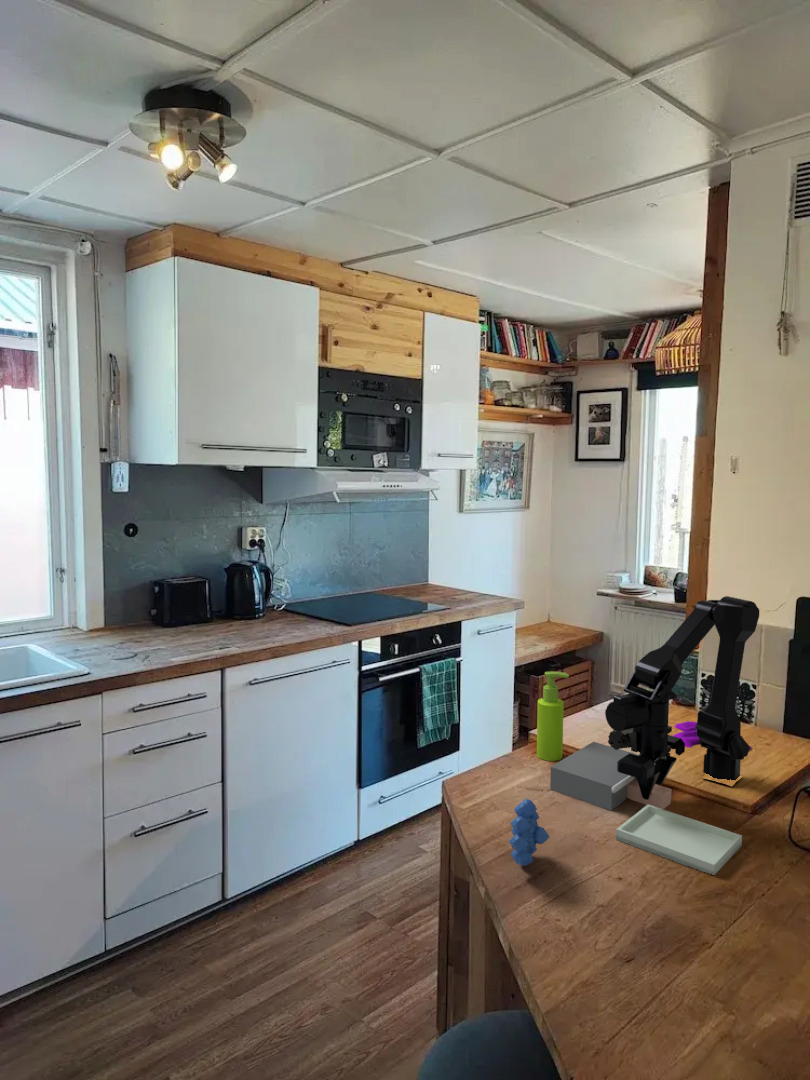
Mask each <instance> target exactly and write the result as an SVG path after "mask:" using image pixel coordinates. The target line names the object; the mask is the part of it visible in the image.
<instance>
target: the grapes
mask: <svg viewBox="0 0 810 1080" xmlns="http://www.w3.org/2000/svg"><path fill="white" fill-rule="evenodd" d="M537 810H538V808H537V806H536V805H535V803H534V801H532V800H531V799H529V798H525V799H523V800H522V801H521V802H520V803H519V804H518V805H516V806H515V808H514V809H513V811H514V812H515V814H516V817H514V819H513V820H512V821H510V825H511V827H512V828H511V830H510V831H511V833H512V835H513V836H512V837H511V838H510V839H509V840H508V842H509V844H510V846H511V847H512V848H513V850H512V851H511V853H510V856H511V857H512V859H513V860H514V862H515V863H516V864H518V865H520V866H522V865H525V866H524V867H526V865H527V866H528V865H530V863H532V862H533V861H534V857H533V854H535V853H536V852H537V850H538V848H537V846H536V845H537V844H538V845H542V844H545V842H547V841H548V839H550V835H549V834H548V832H547V830H546V829H545V828H544V827H543V826H539V824H538V819H540V816H539V814H538V812H537Z"/></svg>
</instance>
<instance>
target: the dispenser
mask: <svg viewBox="0 0 810 1080" xmlns="http://www.w3.org/2000/svg"><path fill="white" fill-rule="evenodd" d="M629 753H630V754H634V755H637V756H638V755H639V754H638V753H636V752H632V751H628V750H624V749H622V748H620V749H618V750H614V748H613V747H611V746H610V745H607V744H604V743H600V742H596V741H592V742H590V743H589V744H587V745H585V746H583V747H582V748H580V749H579V750H577V751H575V752H574V753H572V754H570V755H569V756H566V757H565V758H563V759H560V760H559V761H558V762H556V763H555V764H553V765H551V766H550V785H549V788H550V789H549V790H551V791H554V792H557V793H560V794H563V795H566V796H568V797H570V798H575V799H577V800H580V801H583V802H586V803H589V804H592V805H594V806H597V807H599V808H602V809H605V810H609V811H612V810H614V809H615V808H617V807H618V806H619V805H621V804H622V803H623V802H625V801H627V798H626V790H627V784H628V783H629V782H631V781H632V780H634V779H635V778H636V777H632V776H629V775H626V774H623V773H620V772H618V771H617V761H619V760H620V759H622V758H623V757H625V756H626V755H628V754H629Z"/></svg>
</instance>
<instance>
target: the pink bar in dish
mask: <svg viewBox="0 0 810 1080" xmlns="http://www.w3.org/2000/svg"><path fill="white" fill-rule="evenodd" d="M626 799H629V800H631V801H635V802H638V803H640V804H643V805H645V806H646V805H652V806H655V807H658V808H661V809H664V810H665V809H666V808H667V807H669V805H671V804H672V788H669V787H666V786H663V785H662V786H660V785H657V784H655V785H654V788H653V790H652V793H651V795H650V797H649V799H648V800H646V799H643V797H642V794H641V791H640V788H639V784H638V781H637V778H635V779H634V780H632V781H631V782H629V783H628V784H627V790H626Z"/></svg>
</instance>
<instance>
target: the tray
mask: <svg viewBox="0 0 810 1080" xmlns="http://www.w3.org/2000/svg"><path fill="white" fill-rule="evenodd" d="M615 840H616V841H618V842H622V843H625V844H628V845H630V846H632V847H635V848H638V849H641V850H644V851H646V852H649V853H650V854H654V855H656V856H659V857H662V858H664V859H667V860H670V861H672V860H673V862H676V863H678V864H681V865H683V866H686V867H688V866H690V867H689V868H691V867H692V869H694V868H695V870H696V869H698V870H697V871H699V870H700V871H699V872H702V871H703V872H702V873H704V872H706V873H705V874H707V873H709V874H708V875H710V874H712V875H714V876H716V874H718V872H719V871H720V870H721V869H722V868H723V867H724V866H725V864H727V862H728V861H729V860H730V859H731V858H732V857H733V856H734V855H735V854H736V853H737V852H738V850H739V849H741V847H742V841H743V835H741V834H739V833H736V832H732V831H729V830H726V829H723V828H720V827H718V826H714V825H712V824H709V823H705V822H702V821H700V820H696V819H694V818H690V817H687V816H684V815H682V814H681V815H680V814H678V813H675V812H672V811H669V810H665V808H664V809H661V808H658V807H655V806H652V805H645V806H644V807H643V808H641V809H640V810H638V812H636V813H635V814H634V815H632V816H631V817H630V818H628V819H627V820H626V821H625V822H624V823H622V824H621V825H620V826H618V827H616V829H615ZM712 875H711V876H712Z"/></svg>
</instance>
